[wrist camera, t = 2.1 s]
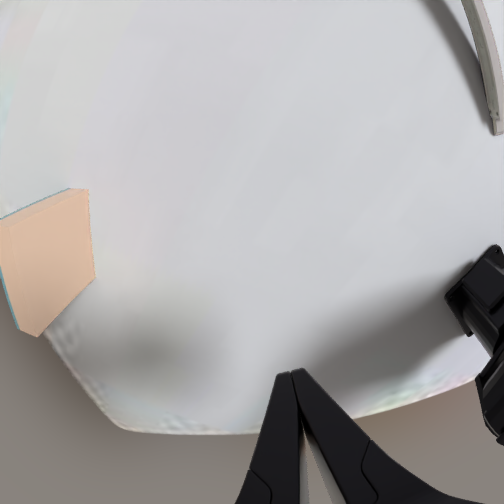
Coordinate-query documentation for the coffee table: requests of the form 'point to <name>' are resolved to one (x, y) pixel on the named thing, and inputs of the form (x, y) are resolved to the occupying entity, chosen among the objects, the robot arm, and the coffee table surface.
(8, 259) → the tile
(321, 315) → the coffee table surface
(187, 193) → the coffee table surface
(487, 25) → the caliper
